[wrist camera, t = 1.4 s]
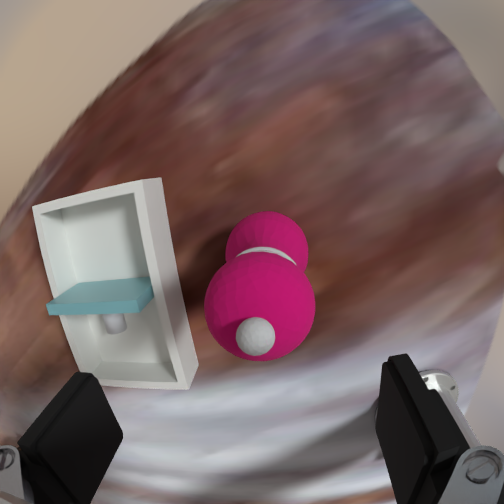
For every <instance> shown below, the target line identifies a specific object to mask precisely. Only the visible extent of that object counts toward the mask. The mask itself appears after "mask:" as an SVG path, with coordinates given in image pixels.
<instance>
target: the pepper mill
mask: <svg viewBox="0 0 504 504" xmlns="http://www.w3.org/2000/svg"><path fill="white" fill-rule="evenodd" d="M226 262H227V263H225V264H224V265H223V266H222V267H221V268H220V269H219V270H218V271H217V272H216V273H215V275H214V276H213V278H212V280H211V281H210V283H209V286H208V288H207V291H206V295H205V304H204V309H205V319H206V322H207V325H208V328H209V330H210V332H211V334H212V336H213V337H214V338H215V340H216V341H217V342H218V343H219V344H220V345H221V346H222V347H223V348H224V349H226V350H227V351H228V352H230V353H232V354H233V355H235V356H238V357H240V358H242V359H246V360H251V361H269V360H274V359H277V358H280V357H283V356H284V355H286V354H288V353H290V352H291V351H292V350H294V349H295V348H296V347H298V346H299V345H300V344H301V342H302V341H303V340H304V339H305V337H306V336H307V334H308V333H309V331H310V329H311V326H312V323H313V320H314V315H315V298H314V292H313V290H312V287H311V284H310V282H309V280H308V278H307V277H306V275H305V274H304V271H305V269H306V266H307V262H308V245H307V241H306V237H305V235H304V233H303V231H302V230H301V229H300V227H299V226H298V225H297V224H296V223H295V222H294V221H293V220H291V219H290V218H288V217H287V216H285V215H282V214H280V213H277V212H272V211H264V212H258V213H254V214H252V215H249V216H247V217H246V218H244V219H242V220H241V221H240V222H239V223H238V224H237V225H236V226H235V227H234V229H233V230H232V232H231V234H230V236H229V238H228V241H227V245H226Z"/></svg>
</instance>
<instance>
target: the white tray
mask: <svg viewBox="0 0 504 504" xmlns="http://www.w3.org/2000/svg"><path fill="white" fill-rule="evenodd" d="M32 208H33V214H34V219H35V224H36V230H37V234H38V239H39V244H40V248H41V253H42V257H43V261H44V265H45V269H46V273H47V276H48V280H49V284H50V287H51V291H52V294H53V298H54V299H55V298H56V297H58V296H59V295H61V294H62V293H64V292H65V291H67V290H68V289H70V288H71V287H73V286H74V285H76V284H78V283H82V282H93V281H105V280H116V279H127V278H138V277H149V276H150V279H151V283H152V288H153V292H154V298H153V299H152V300H151V301H150V302H149V303H148V304H147V305H146V306H145V307H144V309H143V310H142V311H141V312H140V313H123V314H124V317H125V321H126V324H127V329H126V330H125V331H123V332H121V333H119V334H108V333H107V331H106V328H105V324H104V321H103V318H102V315H101V314H87V315H59V317H60V320H61V323H62V326H63V328H64V331H65V334H66V337H67V340H68V342H69V345H70V348H71V350H72V353H73V356H74V358H75V361H76V363H77V366H78V368H79V370H80V372H87V373H92V374H93V375H94V376H95V377H96V378H97V379H98V381H99V383H100V385H103V386H115V387H129V388H148V389H184V390H189V388H190V385H191V383H192V380H193V378H194V375H195V373H196V370H197V368H198V365H199V364H198V360H197V356H196V352H195V348H194V344H193V340H192V336H191V331H190V327H189V323H188V318H187V314H186V309H185V305H184V300H183V295H182V291H181V286H180V281H179V276H178V271H177V266H176V261H175V256H174V250H173V245H172V240H171V234H170V228H169V223H168V217H167V211H166V205H165V198H164V192H163V185H162V179H161V178H152V179H143V180H138V181H133V182H128V183H124V184H119V185H115V186H110V187H106V188H101V189H97V190H93V191H89V192H85V193H81V194H77V195H73V196H69V197H65V198H61V199H57V200H54V201H50V202H46V203H43V204H39V205H36V206H32Z"/></svg>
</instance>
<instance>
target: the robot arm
mask: <svg viewBox="0 0 504 504" xmlns="http://www.w3.org/2000/svg"><path fill="white" fill-rule="evenodd" d="M458 394H459V391H458V385H457V383H456V381H455V380H454V378H453V377H452V376H451V375H450V374H448V373H446V372H444V371H440V370H428V371H423V372H418V370H417V369H416V367H415V365H414V364H413V362H412V360H411V359H410V357H409V355H408V354H401V355H395V356H390V357H389V358H388V362H384V363H383V364H382V373H381V384H380V393H379V402H378V407H377V410H376V414H375V423H376V432H377V436H378V439H379V442H380V446H381V449H382V452H383V456H384V459H385V462H386V466H387V469H388V473H389V476H390V480H391V483H392V487H393V490H394V494H395V498H396V501H397V504H504V455H503V454H502V452H501V451H499V450H497V449H496V448H493V447H491V446H482V445H481V444H480V442H479V440H478V439H477V437H476V435H475V433H474V432H473V430H472V429H471V427H470V425H469V423H468V422H467V420H466V419H465V417H464V415H463V414H462V412H461V410H460V409H459V407H458V406H457V404H456V402H457V400H458ZM122 439H123V432H122V430H121V428H120V426H119V424H118V422H117V420H116V418H115V416H114V413H113V411H112V409H111V407H110V405H109V403H108V401H107V399H106V396H105V394H104V392H103V390H102V387H101V385H100V383H99V381H98V379H97V378H96V377H95V376H94V375H93V374H92V373H87V372H76V373H75V374H74V375H73V376H72V377H71V378H70V379H69V381H68V382H67V383H66V384H65V385H64V387H63V388H62V389H61V390H60V391H59V392H58V394H57V395H56V396H55V397H54V398H53V400H52V401H51V402H50V403H49V404H48V406H47V407H46V408H45V409H44V410H43V412H42V413H41V414H40V415H39V416H38V418H37V419H36V420H35V421H34V423H33V424H32V425H31V426H30V427H29V429H28V430H27V431H26V432H25V434H24V435H23V436H22V437H21V439H20V440H19V441H18V442H17V443H18V445H19V446H20V448H21V449H22V450H21V451H20V452H19V451H18V450H17V449H16V448H15V447H13V446H11V445H4V446H1V447H0V504H90V503H91V501H92V499H93V497H94V495H95V493H96V491H97V489H98V487H99V485H100V483H101V481H102V479H103V477H104V475H105V473H106V471H107V469H108V467H109V465H110V463H111V461H112V459H113V457H114V455H115V453H116V451H117V449H118V447H119V445H120V443H121V442H122Z"/></svg>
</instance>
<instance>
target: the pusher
mask: <svg viewBox="0 0 504 504" xmlns="http://www.w3.org/2000/svg"><path fill="white" fill-rule="evenodd" d="M153 298H154V292H153V288H152V283H151V279H150V276H149V277H138V278H127V279H116V280H105V281H93V282H82V283H78V284H76V285H74V286H73V287H71V288H70V289H68V290H67V291H65V292H64V293H62V294H61V295H59V296H58V297H56V298H55V299H53V300H52V301H50V302H49V303H47V304H46V306H47V310H48V313H49V315H87V314H101V315H102V318H103V321H104V324H105V328H106V331H107V333H108V334H119V333H121V332H123V331H125V330H126V329H127V324H126V321H125V317H124V314H123V313H140V312H141V311H142V310H143V309H144V307H145V306H146V305H147V304H148V303H149V302H150V301H151V300H152V299H153Z"/></svg>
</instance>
